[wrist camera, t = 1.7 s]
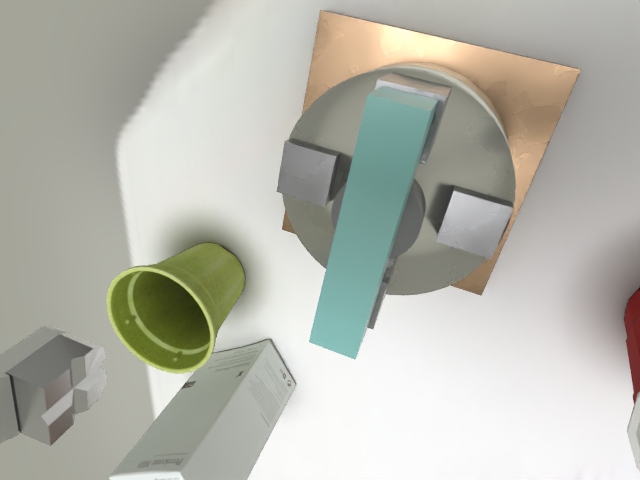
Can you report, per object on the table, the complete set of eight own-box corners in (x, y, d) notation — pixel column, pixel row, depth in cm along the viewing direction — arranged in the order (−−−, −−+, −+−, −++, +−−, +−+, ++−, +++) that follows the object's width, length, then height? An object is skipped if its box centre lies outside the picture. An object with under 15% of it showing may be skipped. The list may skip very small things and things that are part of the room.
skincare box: (271, 336, 43) (181, 467, 30) (299, 386, 45) (226, 531, 32) (205, 354, 47) (101, 476, 34) (234, 399, 48) (144, 534, 35)
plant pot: (155, 234, 42) (86, 278, 35) (239, 214, 39) (181, 258, 31) (195, 319, 45) (139, 377, 38) (277, 308, 41) (232, 369, 34)
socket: (577, 68, 27) (637, 91, 17) (481, 287, 35) (481, 397, 24) (325, 11, 30) (244, 0, 20) (287, 224, 38) (213, 297, 27)
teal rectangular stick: (463, 99, 20) (459, 118, 16) (392, 310, 26) (375, 366, 22) (370, 76, 21) (342, 87, 17) (321, 285, 27) (290, 334, 23)
